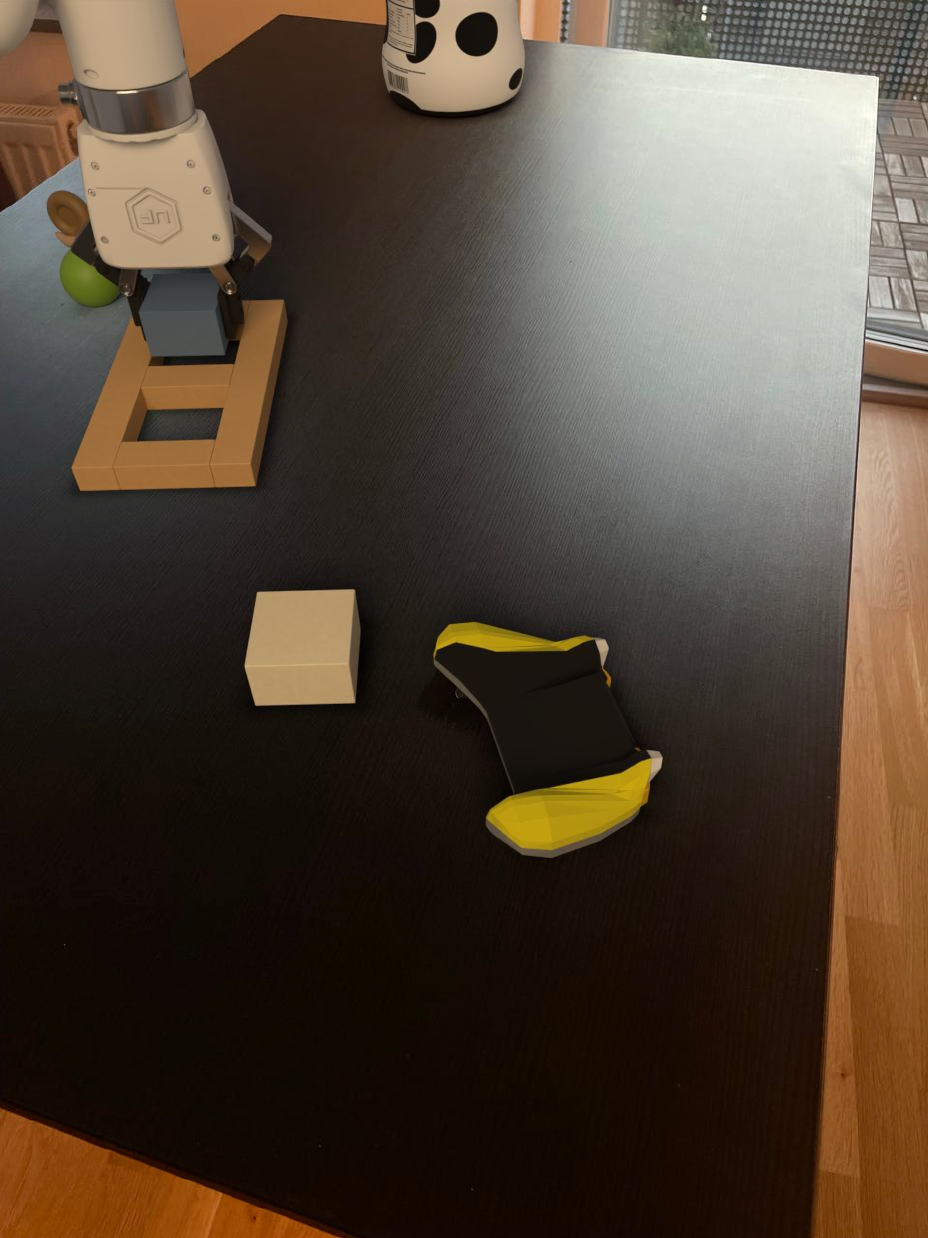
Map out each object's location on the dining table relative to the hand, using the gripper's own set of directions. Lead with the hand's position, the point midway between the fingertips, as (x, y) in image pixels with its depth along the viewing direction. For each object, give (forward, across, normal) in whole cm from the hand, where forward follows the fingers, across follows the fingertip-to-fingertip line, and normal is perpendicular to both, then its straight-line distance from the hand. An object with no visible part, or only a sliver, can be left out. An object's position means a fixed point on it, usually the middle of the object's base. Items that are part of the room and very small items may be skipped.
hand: (192, 329), depth 82 cm
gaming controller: (+4, +26, -41) cm, 49 cm away
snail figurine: (+4, -11, +11) cm, 16 cm away
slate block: (+1, 0, 0) cm, 1 cm away
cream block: (+4, +12, -34) cm, 36 cm away
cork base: (+4, 0, -5) cm, 6 cm away
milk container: (+4, +22, +58) cm, 62 cm away
